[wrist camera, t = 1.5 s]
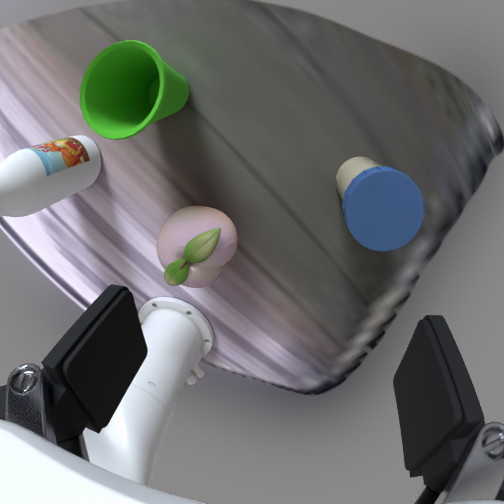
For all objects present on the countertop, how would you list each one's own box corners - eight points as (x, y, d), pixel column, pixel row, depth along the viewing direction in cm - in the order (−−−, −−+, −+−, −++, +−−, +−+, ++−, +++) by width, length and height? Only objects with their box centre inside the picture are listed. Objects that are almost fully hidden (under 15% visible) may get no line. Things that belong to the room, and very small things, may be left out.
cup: (146, 54, 28) (91, 40, 18) (215, 63, 28) (178, 43, 18) (130, 123, 32) (72, 132, 22) (195, 137, 32) (151, 148, 22)
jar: (390, 197, 31) (423, 231, 22) (344, 213, 33) (361, 252, 24) (376, 150, 29) (408, 165, 20) (328, 166, 31) (340, 188, 22)
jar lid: (423, 228, 23) (431, 237, 21) (354, 252, 25) (357, 262, 24) (406, 155, 21) (414, 159, 19) (330, 180, 23) (333, 185, 21)
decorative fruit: (198, 179, 34) (162, 203, 25) (256, 217, 35) (240, 254, 26) (165, 238, 38) (128, 275, 29) (217, 272, 39) (193, 318, 30)
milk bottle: (110, 176, 35) (-7, 234, 18) (74, 194, 38) (-30, 254, 20) (92, 125, 33) (-33, 155, 15) (58, 148, 35) (-53, 188, 17)
